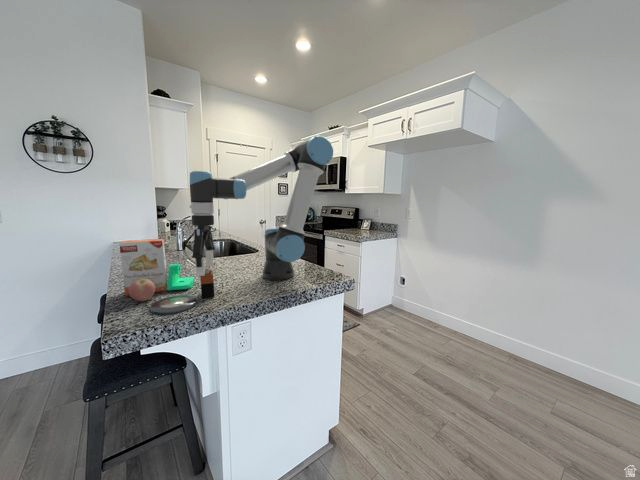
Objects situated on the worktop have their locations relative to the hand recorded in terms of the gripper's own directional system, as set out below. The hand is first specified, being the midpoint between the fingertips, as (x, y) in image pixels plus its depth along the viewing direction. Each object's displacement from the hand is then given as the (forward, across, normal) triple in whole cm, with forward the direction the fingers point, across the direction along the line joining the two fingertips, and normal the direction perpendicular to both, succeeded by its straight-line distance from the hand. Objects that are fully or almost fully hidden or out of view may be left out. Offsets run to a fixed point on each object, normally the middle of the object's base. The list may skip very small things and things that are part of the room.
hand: (205, 270), depth 100 cm
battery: (+10, 0, +1) cm, 10 cm away
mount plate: (+10, +9, -8) cm, 16 cm away
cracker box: (+10, -8, -24) cm, 28 cm away
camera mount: (+10, -12, -13) cm, 20 cm away
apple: (+10, +2, -21) cm, 24 cm away
